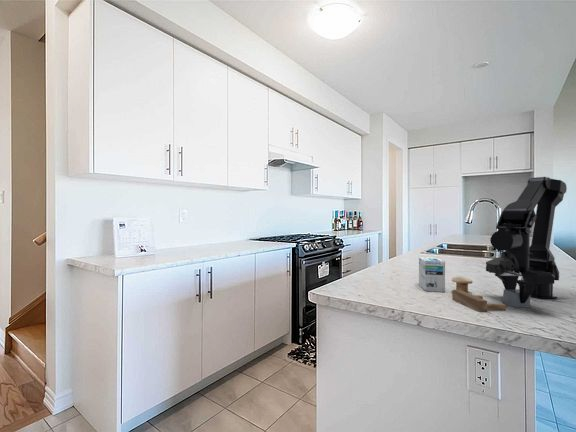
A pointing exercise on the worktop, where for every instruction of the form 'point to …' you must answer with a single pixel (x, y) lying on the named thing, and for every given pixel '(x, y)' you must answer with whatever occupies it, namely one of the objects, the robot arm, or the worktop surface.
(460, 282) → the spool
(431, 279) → the light bulb box
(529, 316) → the worktop surface
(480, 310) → the notched board
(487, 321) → the worktop surface
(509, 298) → the blue-grey block
